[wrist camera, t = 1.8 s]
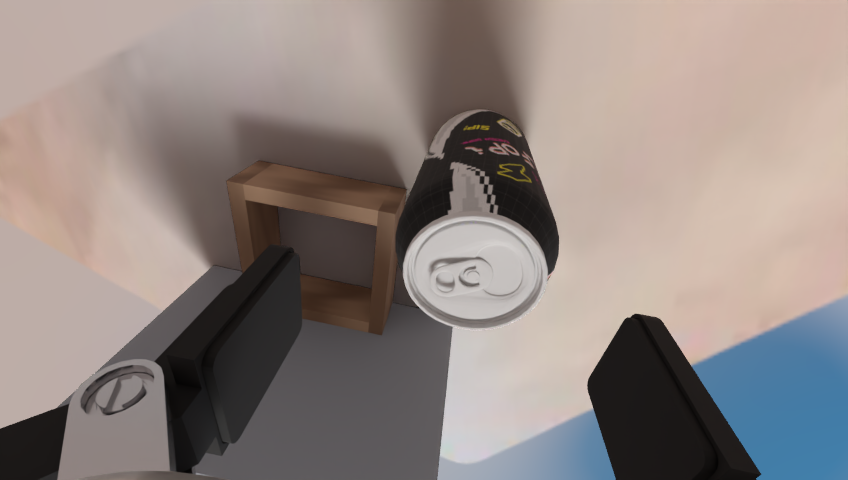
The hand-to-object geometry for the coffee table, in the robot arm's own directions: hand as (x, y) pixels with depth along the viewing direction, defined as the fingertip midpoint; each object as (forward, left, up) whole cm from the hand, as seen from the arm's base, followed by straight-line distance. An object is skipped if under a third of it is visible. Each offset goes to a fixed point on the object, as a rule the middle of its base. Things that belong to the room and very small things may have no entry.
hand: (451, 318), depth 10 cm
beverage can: (-1, -1, -14) cm, 14 cm away
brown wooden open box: (+9, +7, -13) cm, 17 cm away
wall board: (+9, +13, -13) cm, 21 cm away
